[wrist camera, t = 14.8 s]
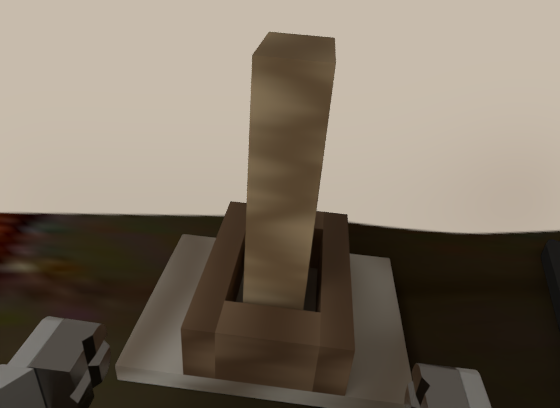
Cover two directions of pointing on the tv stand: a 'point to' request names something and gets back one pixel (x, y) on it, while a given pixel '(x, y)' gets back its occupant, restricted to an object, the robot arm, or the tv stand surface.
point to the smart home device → (553, 273)
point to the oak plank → (285, 164)
